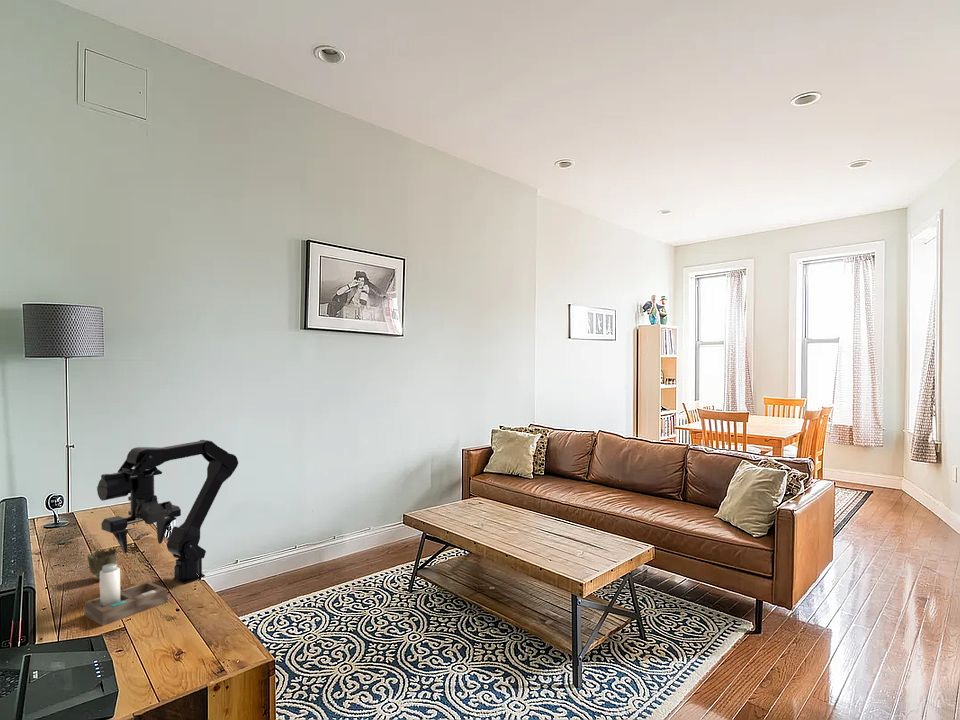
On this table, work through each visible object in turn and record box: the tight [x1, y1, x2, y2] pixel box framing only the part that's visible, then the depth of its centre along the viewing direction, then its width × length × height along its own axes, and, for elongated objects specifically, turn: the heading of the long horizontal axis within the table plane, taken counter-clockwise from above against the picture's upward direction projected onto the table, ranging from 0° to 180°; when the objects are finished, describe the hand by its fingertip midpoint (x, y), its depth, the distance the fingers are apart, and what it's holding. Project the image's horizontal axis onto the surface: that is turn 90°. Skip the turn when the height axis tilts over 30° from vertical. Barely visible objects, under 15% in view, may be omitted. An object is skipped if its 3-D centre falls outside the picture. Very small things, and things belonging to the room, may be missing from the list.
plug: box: [99, 562, 121, 608], centre depth 144 cm, size 4×4×12 cm
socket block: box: [83, 581, 168, 626], centre depth 147 cm, size 16×10×4 cm, turn 147°
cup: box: [87, 547, 118, 581], centre depth 167 cm, size 8×7×8 cm
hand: (143, 548), depth 156 cm, fingers open, 9 cm apart
